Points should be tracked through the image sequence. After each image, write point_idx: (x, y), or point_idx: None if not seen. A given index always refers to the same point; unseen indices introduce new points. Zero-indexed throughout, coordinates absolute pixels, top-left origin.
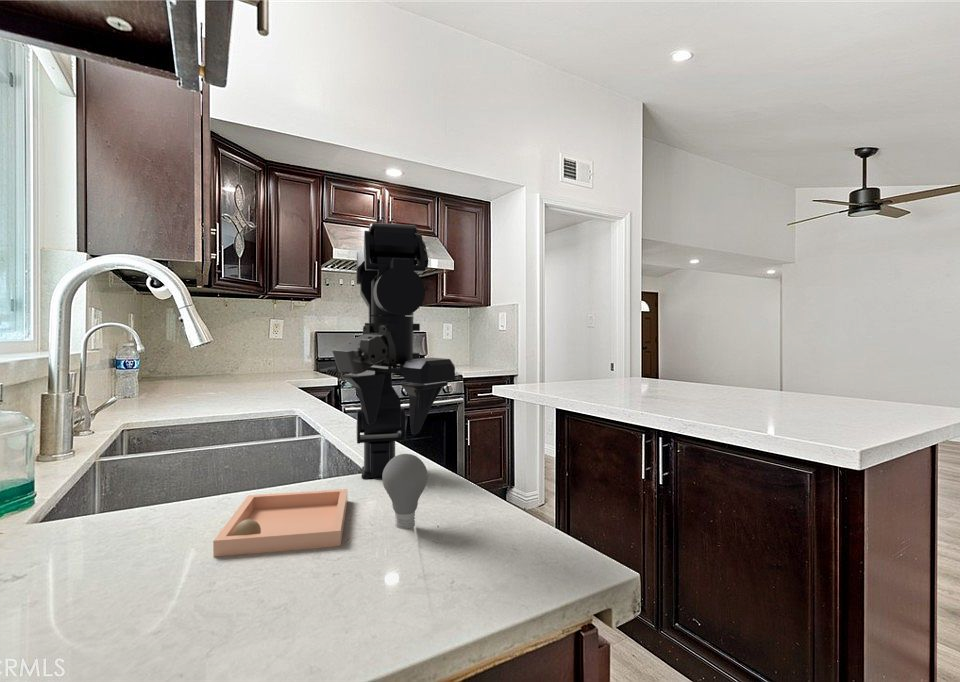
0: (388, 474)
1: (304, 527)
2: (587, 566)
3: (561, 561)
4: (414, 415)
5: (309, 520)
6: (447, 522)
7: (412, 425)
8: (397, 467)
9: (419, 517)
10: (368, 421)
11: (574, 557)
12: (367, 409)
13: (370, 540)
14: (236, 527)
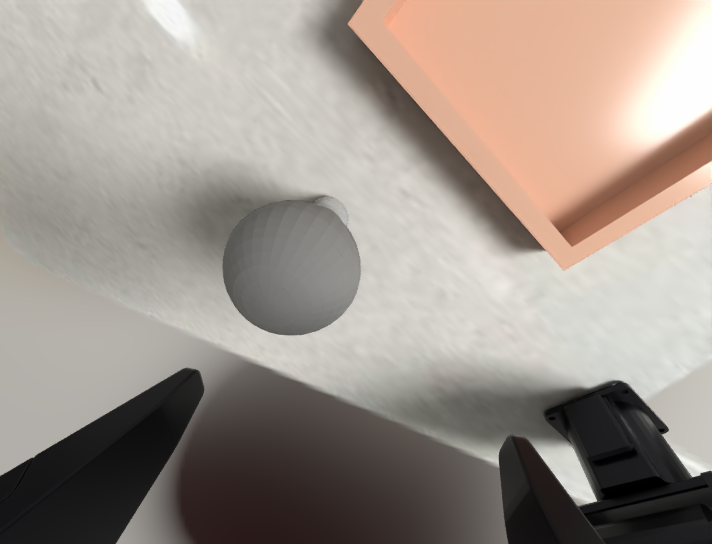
0: (283, 215)
1: (538, 47)
2: (49, 248)
3: (76, 244)
4: (72, 435)
5: (561, 96)
6: None
7: (153, 394)
8: (252, 240)
9: None
10: (516, 445)
11: (78, 263)
12: (544, 528)
13: (344, 126)
14: None
